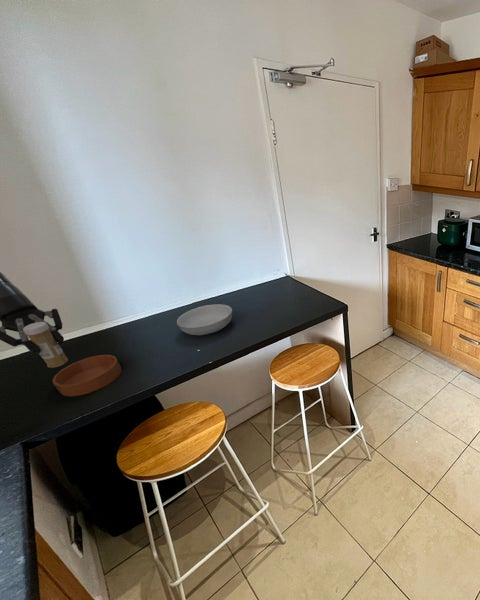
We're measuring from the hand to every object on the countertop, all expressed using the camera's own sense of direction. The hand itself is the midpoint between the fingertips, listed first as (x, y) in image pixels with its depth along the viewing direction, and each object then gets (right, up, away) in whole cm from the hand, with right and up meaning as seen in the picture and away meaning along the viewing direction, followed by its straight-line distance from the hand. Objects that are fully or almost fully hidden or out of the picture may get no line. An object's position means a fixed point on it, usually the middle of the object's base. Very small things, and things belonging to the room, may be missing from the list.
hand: (50, 347), depth 89 cm
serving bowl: (+16, +1, +48) cm, 51 cm away
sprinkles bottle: (-2, -6, +4) cm, 7 cm away
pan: (-7, -14, +19) cm, 25 cm away
